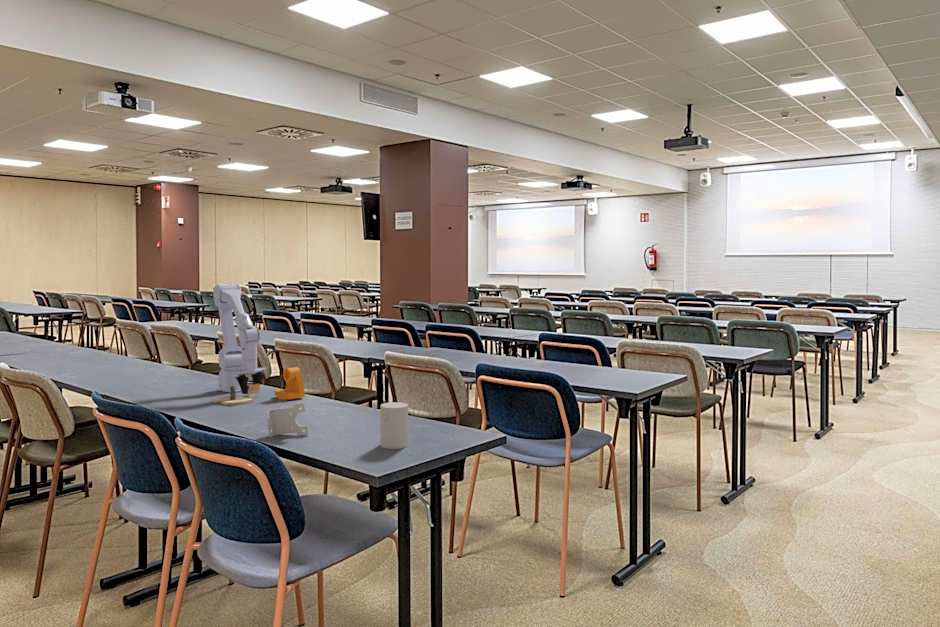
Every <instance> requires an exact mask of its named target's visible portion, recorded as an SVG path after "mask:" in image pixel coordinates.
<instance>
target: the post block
mask: <svg viewBox="0 0 940 627" xmlns="http://www.w3.org/2000/svg"><path fill="white" fill-rule="evenodd" d="M229 394H230V395H229V396H224V397H218V398H214V399H213V398H212V399H211V403H213V404H214V403H215V404H220V405H225V406H230V407H235V406H238V405H239V406H240V405H244V404H249V403H254V402H255V399H254V398H247V397H241V395H240V396H239V395H236V392H235V386H230V393H229Z"/></svg>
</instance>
